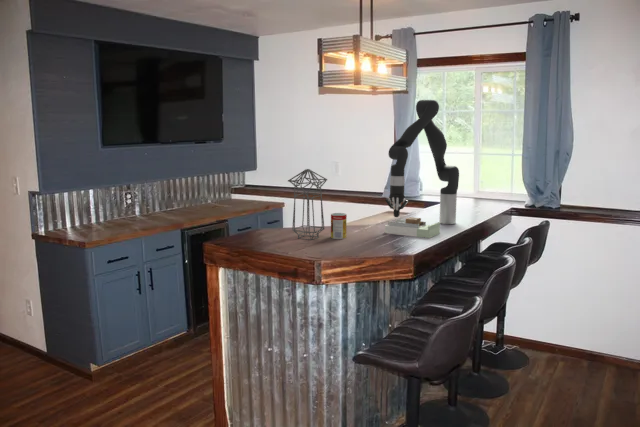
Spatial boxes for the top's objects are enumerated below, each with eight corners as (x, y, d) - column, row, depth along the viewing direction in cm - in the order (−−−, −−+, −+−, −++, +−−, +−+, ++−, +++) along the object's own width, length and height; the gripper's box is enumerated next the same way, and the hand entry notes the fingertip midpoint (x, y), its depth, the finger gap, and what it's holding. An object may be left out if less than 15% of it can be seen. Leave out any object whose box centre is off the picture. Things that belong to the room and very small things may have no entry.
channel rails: (396, 222, 299) (396, 218, 299) (425, 225, 290) (425, 221, 290) (388, 225, 291) (388, 221, 290) (418, 228, 282) (418, 224, 281)
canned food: (345, 236, 283) (345, 212, 281) (347, 239, 275) (347, 215, 273) (330, 236, 283) (330, 213, 281) (331, 239, 275) (331, 215, 273)
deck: (395, 228, 302) (396, 218, 301) (439, 233, 289) (439, 222, 288) (384, 233, 290) (384, 221, 289) (429, 238, 277) (429, 226, 276)
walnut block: (410, 224, 293) (410, 217, 292) (420, 225, 289) (420, 218, 289) (405, 226, 288) (405, 218, 287) (416, 227, 284) (416, 219, 284)
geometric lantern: (329, 237, 280) (329, 168, 274) (313, 243, 267) (312, 171, 261) (303, 233, 288) (302, 166, 282) (286, 239, 275) (285, 169, 269)
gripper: (411, 184, 290) (410, 217, 292) (388, 183, 297) (388, 215, 299) (406, 185, 284) (405, 219, 286) (382, 184, 291) (382, 216, 293)
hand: (396, 216), depth 293 cm, fingers closed
